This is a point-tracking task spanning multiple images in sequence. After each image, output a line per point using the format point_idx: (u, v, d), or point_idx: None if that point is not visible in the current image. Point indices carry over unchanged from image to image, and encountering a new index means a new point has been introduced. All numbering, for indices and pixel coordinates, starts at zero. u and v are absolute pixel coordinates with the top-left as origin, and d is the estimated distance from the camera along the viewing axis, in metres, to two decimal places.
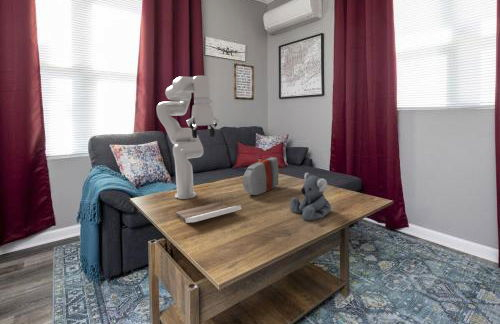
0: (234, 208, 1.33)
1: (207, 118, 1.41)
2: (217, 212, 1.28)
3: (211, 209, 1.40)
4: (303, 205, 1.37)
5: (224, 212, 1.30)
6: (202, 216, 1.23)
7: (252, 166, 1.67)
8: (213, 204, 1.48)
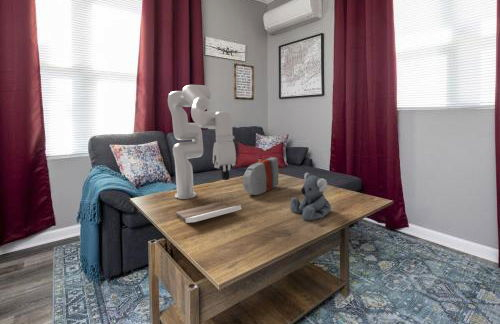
0: (234, 208, 1.33)
1: (230, 157, 1.29)
2: (217, 212, 1.28)
3: (211, 209, 1.40)
4: (303, 205, 1.37)
5: (224, 212, 1.30)
6: (202, 216, 1.23)
7: (252, 166, 1.67)
8: (213, 204, 1.48)
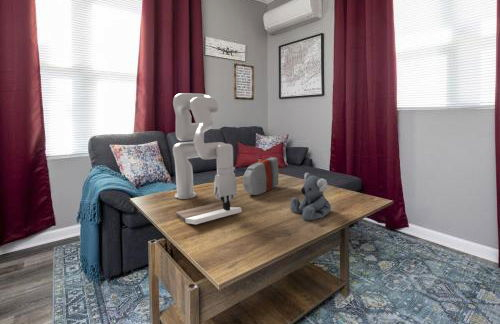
0: (234, 210, 1.33)
1: (231, 188, 1.32)
2: (217, 214, 1.28)
3: (211, 209, 1.40)
4: (303, 205, 1.37)
5: (224, 214, 1.30)
6: (202, 219, 1.23)
7: (252, 166, 1.67)
8: (213, 204, 1.48)
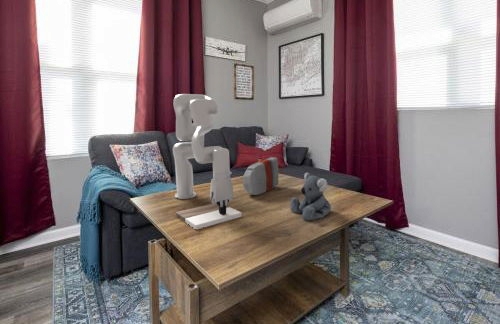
0: (235, 215, 1.34)
1: (227, 192, 1.31)
2: (218, 220, 1.28)
3: (211, 209, 1.40)
4: (303, 205, 1.37)
5: (224, 219, 1.30)
6: (203, 224, 1.24)
7: (252, 166, 1.67)
8: (213, 204, 1.48)
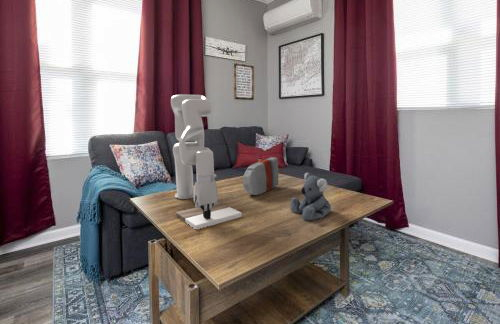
0: (235, 215, 1.34)
1: (211, 196, 1.26)
2: (218, 220, 1.28)
3: (211, 209, 1.40)
4: (303, 205, 1.37)
5: (224, 220, 1.30)
6: (203, 224, 1.24)
7: (252, 166, 1.67)
8: None
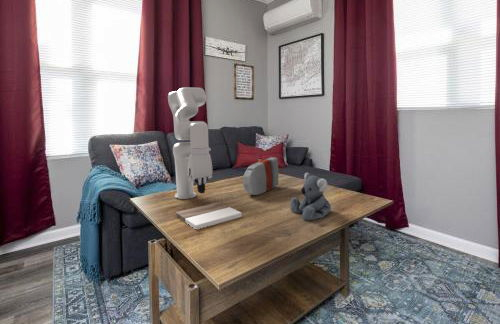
0: (235, 215, 1.34)
1: (205, 170, 1.24)
2: (218, 220, 1.28)
3: (211, 209, 1.40)
4: (303, 205, 1.37)
5: (224, 220, 1.30)
6: (203, 224, 1.24)
7: (252, 166, 1.67)
8: (213, 204, 1.48)
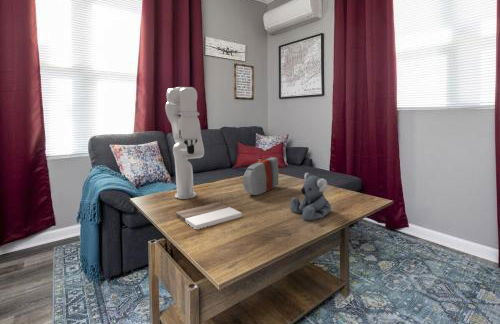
0: (235, 215, 1.34)
1: (194, 132, 1.36)
2: (218, 220, 1.28)
3: (211, 209, 1.40)
4: (303, 205, 1.37)
5: (224, 220, 1.30)
6: (203, 224, 1.24)
7: (252, 166, 1.67)
8: (213, 204, 1.48)
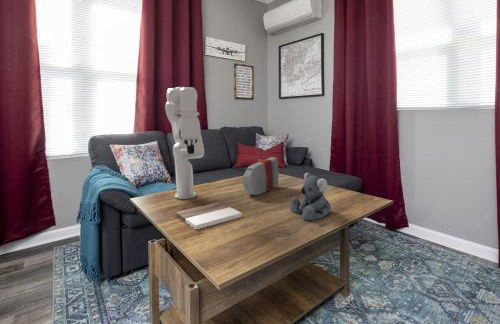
0: (235, 215, 1.34)
1: (194, 132, 1.36)
2: (218, 220, 1.28)
3: (211, 209, 1.40)
4: (303, 205, 1.37)
5: (224, 220, 1.30)
6: (203, 224, 1.24)
7: (252, 166, 1.67)
8: (213, 204, 1.48)
